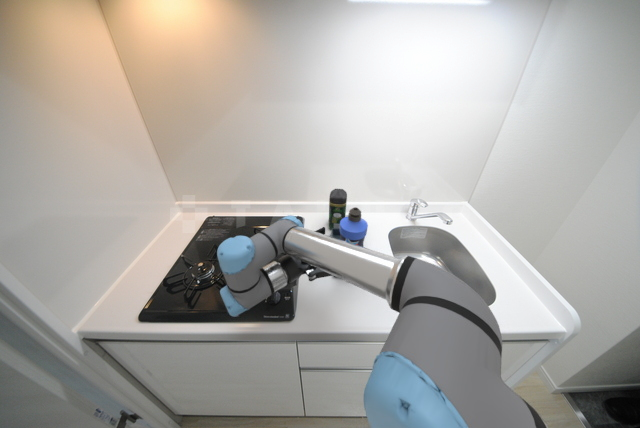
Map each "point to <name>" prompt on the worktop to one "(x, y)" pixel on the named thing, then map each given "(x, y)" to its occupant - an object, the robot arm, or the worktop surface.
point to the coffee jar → (337, 207)
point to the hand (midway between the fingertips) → (337, 240)
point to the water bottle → (353, 228)
